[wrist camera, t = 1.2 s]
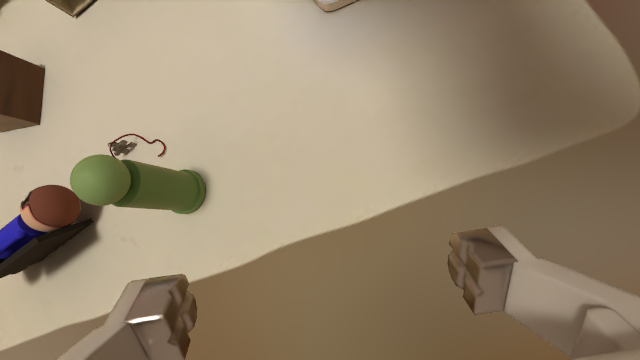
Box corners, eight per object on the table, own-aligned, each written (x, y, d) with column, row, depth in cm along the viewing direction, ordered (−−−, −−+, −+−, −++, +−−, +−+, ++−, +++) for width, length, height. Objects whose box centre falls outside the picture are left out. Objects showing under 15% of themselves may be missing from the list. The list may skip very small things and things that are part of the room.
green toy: (205, 168, 35) (101, 142, 24) (205, 212, 34) (98, 205, 23) (170, 173, 36) (56, 149, 25) (169, 215, 36) (51, 210, 25)
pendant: (152, 121, 38) (133, 114, 36) (168, 150, 37) (149, 145, 34) (106, 163, 40) (84, 159, 37) (119, 193, 38) (97, 191, 36)
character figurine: (16, 242, 43) (98, 183, 40) (24, 296, 41) (111, 237, 38) (-69, 240, 36) (23, 168, 33) (-66, 305, 34) (33, 234, 31)
